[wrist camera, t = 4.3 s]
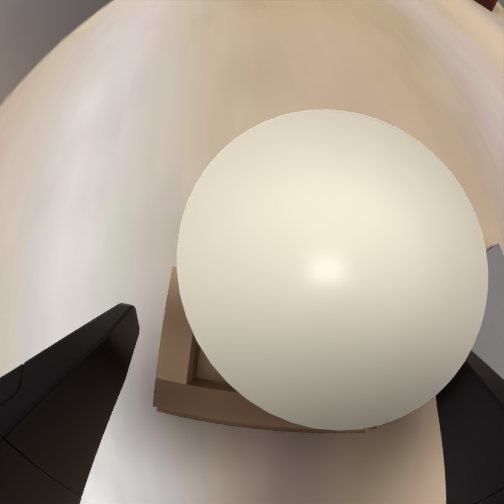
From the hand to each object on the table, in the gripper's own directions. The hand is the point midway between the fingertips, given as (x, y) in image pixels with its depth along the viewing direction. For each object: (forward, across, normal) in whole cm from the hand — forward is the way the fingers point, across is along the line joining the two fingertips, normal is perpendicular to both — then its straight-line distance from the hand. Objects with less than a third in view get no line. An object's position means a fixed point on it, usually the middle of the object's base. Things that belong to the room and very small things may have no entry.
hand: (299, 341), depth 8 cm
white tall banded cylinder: (+7, 0, +5) cm, 9 cm away
